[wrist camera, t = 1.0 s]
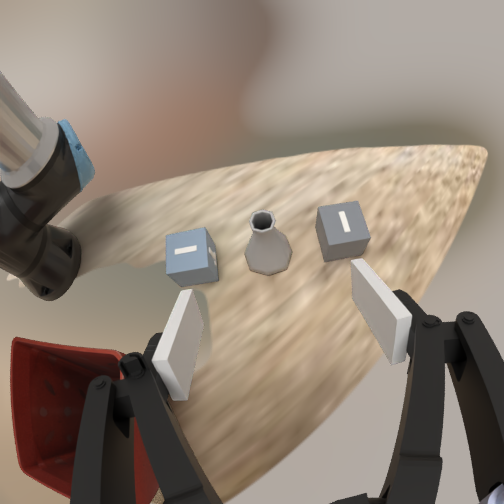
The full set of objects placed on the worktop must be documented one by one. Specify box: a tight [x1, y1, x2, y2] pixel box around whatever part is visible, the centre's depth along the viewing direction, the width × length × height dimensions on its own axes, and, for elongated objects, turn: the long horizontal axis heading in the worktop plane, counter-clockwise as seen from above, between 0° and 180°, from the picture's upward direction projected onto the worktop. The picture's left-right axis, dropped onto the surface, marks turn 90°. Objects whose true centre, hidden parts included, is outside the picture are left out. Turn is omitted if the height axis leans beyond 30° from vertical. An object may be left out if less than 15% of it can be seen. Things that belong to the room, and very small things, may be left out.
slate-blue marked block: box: [166, 227, 219, 287], centre depth 42 cm, size 6×6×6 cm
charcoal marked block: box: [315, 201, 371, 262], centre depth 40 cm, size 6×6×6 cm
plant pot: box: [10, 337, 159, 504], centre depth 28 cm, size 19×19×17 cm
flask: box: [244, 210, 292, 276], centre depth 39 cm, size 7×7×10 cm
